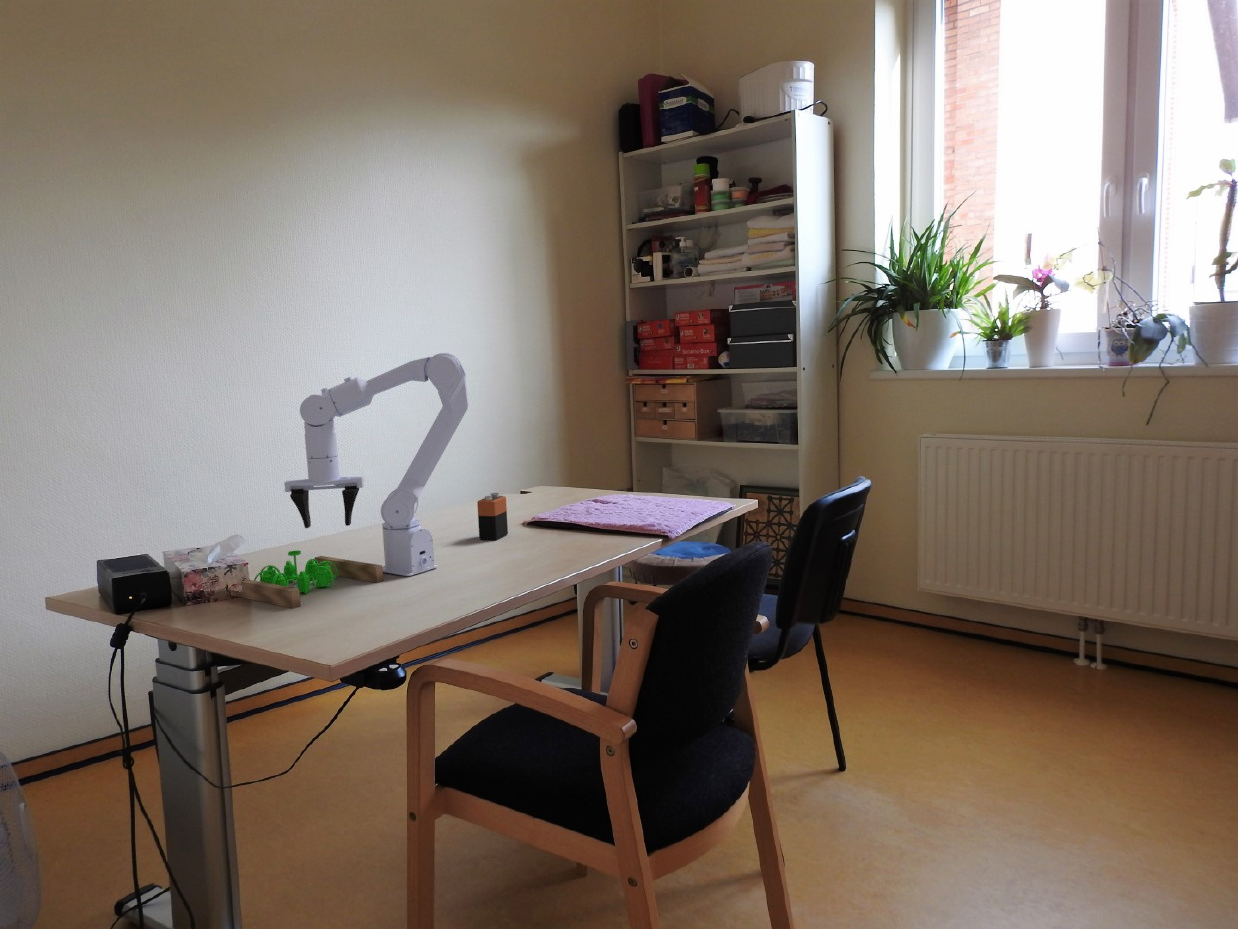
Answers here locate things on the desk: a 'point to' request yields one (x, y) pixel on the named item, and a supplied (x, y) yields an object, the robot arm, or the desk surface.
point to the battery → (492, 517)
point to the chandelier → (303, 578)
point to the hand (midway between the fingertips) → (328, 526)
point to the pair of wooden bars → (291, 595)
